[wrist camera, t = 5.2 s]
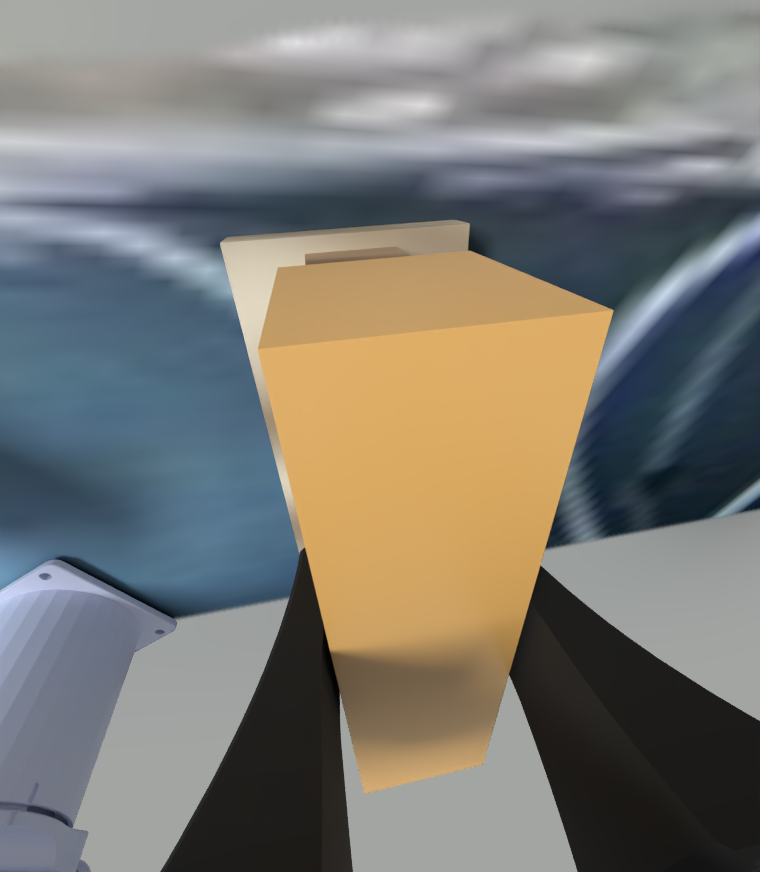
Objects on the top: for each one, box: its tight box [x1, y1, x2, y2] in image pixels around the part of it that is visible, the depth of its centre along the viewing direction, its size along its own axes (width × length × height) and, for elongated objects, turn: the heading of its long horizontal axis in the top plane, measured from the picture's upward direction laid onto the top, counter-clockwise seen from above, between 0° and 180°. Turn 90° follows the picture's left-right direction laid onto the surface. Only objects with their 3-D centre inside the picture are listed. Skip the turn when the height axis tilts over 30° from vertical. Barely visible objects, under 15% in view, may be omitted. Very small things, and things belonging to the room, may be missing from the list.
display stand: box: [220, 220, 470, 554], centre depth 16 cm, size 15×8×4 cm, turn 3°
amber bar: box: [258, 251, 614, 794], centre depth 10 cm, size 15×4×4 cm, turn 3°
